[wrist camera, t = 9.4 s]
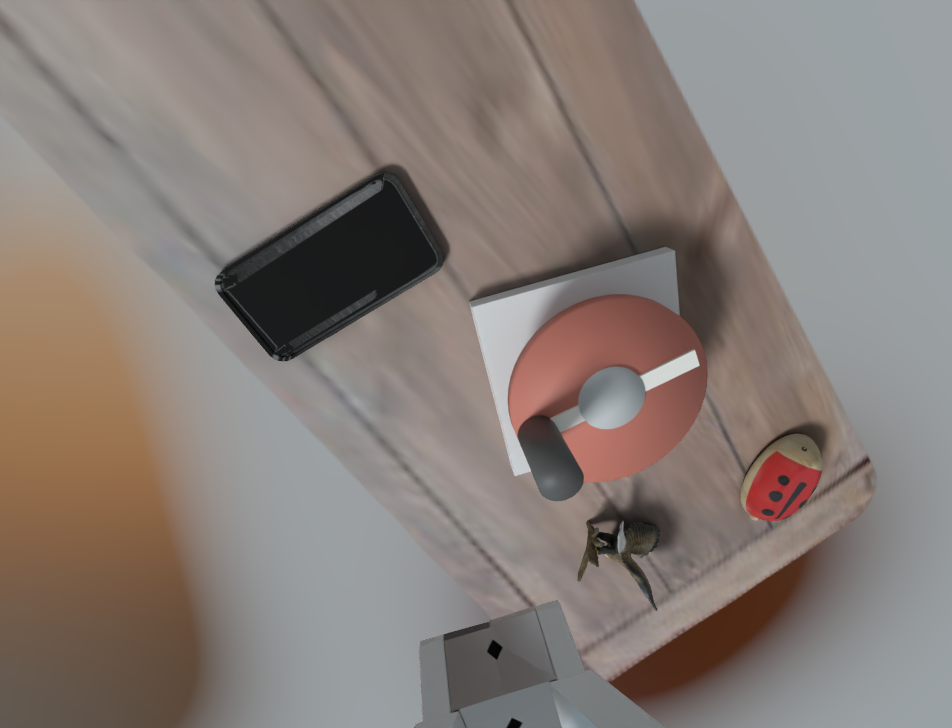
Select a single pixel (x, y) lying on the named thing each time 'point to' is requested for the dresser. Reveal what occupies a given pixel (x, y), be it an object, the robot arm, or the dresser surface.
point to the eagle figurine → (623, 550)
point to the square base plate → (529, 307)
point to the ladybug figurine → (782, 478)
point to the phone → (331, 268)
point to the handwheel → (605, 391)
